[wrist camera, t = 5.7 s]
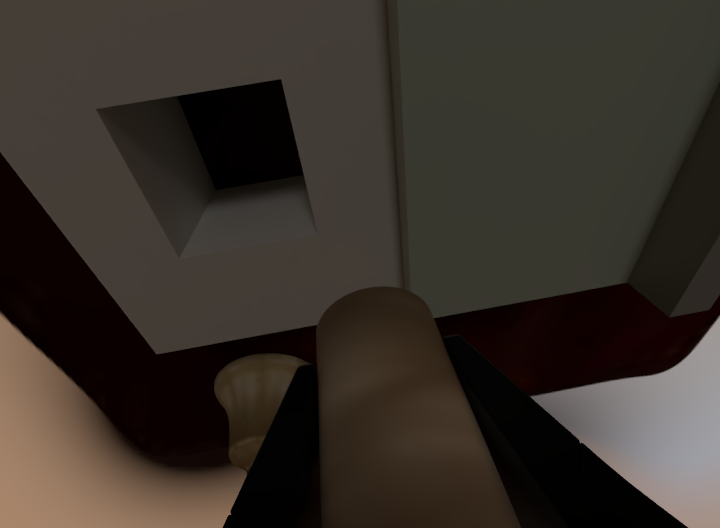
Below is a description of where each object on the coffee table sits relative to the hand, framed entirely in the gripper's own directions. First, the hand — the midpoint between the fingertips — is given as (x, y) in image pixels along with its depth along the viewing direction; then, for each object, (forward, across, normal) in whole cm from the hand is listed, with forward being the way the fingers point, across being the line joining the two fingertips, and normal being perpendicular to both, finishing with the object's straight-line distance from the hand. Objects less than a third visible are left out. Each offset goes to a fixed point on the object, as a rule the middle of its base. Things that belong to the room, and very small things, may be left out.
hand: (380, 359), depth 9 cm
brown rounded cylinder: (+1, 0, 0) cm, 1 cm away
